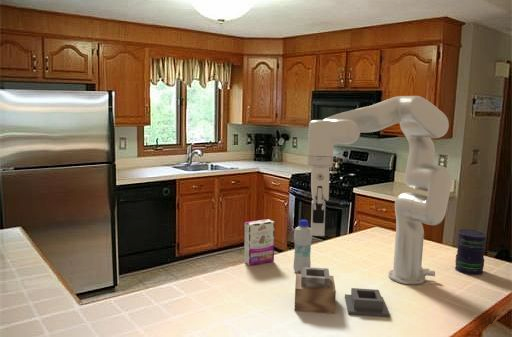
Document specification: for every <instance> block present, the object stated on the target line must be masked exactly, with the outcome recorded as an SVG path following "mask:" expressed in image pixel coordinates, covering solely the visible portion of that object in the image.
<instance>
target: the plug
mask: <svg viewBox="0 0 512 337" xmlns="http://www.w3.org/2000/svg"><path fill="white" fill-rule="evenodd" d="M316 200H317V198H316ZM326 204H327V203H326V201H325V200H324V209H323V210H324V223H313V210H314V200H313V199H311V217H310V218H311V219H310V228H311V236H312V237H313V236H315V237H325V232H326V231H325V230H326V229H325V228H326V225H325V224H326Z"/></svg>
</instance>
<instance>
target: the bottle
mask: <svg viewBox="0 0 512 337" xmlns="http://www.w3.org/2000/svg"><path fill="white" fill-rule="evenodd" d="M293 238H294V239H293V241H294V257H293V271H294V272H295V274H300V273H301V272H302V267H310V268H312V267H311V265H312V264H311V262H312V261H311V253H312V252H311V249H312V242H313V240H312V239H313V236H311V227H309V221H308V220H307V219H300V220H299V222H298V226H297V227H295V228H294V234H293Z"/></svg>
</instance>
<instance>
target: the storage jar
mask: <svg viewBox="0 0 512 337" xmlns="http://www.w3.org/2000/svg"><path fill="white" fill-rule="evenodd" d="M456 239H457V242H456V246H457V250H456V251H457V252H456V254H455V266H454V270H455V271H457V272H458V273H460V274H463V275H467V276H481V275H483V273H484V271H483V270H484V267H485V250H486V249H487V247H486V245H487V234H486V233H485V232H483V231H481V230H480V231H479V230H473V229H459V230H458V234H457V238H456Z"/></svg>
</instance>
